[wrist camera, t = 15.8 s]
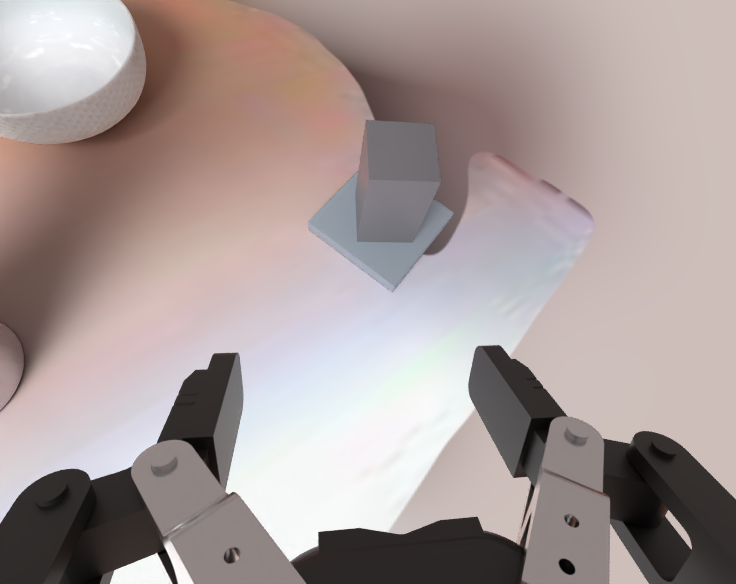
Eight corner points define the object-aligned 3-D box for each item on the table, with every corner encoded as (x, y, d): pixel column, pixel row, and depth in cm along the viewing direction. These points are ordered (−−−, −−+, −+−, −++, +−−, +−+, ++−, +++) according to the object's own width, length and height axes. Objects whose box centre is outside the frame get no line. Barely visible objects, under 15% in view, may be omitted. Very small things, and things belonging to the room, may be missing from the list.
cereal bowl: (104, 196, 37) (57, 144, 30) (-60, 134, 37) (-143, 68, 31) (194, 72, 43) (171, 7, 36) (52, 20, 43) (4, -55, 37)
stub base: (308, 229, 38) (306, 194, 32) (371, 165, 41) (379, 122, 36) (392, 292, 37) (405, 266, 31) (449, 220, 40) (470, 185, 35)
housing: (357, 241, 36) (368, 179, 28) (355, 193, 38) (365, 120, 29) (412, 242, 37) (441, 182, 28) (408, 194, 39) (434, 123, 30)
